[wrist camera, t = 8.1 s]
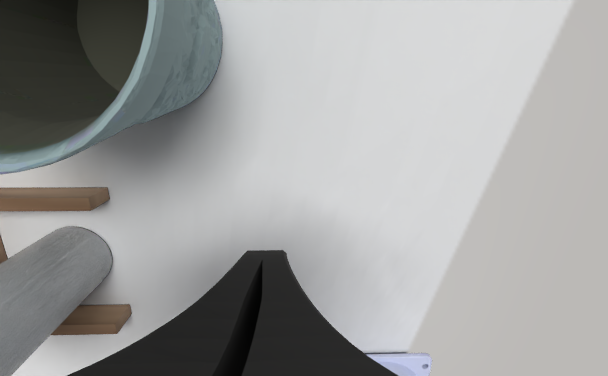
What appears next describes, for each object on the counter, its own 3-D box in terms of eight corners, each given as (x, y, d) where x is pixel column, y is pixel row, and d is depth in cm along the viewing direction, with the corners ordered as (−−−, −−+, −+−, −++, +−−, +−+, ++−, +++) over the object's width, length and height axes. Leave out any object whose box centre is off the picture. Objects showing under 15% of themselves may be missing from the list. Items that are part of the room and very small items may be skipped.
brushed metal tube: (38, 223, 21) (-184, 345, 11) (109, 227, 21) (-45, 349, 11) (49, 282, 22) (-140, 437, 12) (116, 285, 22) (-17, 438, 13)
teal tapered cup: (14, -14, 17) (-579, -230, 5) (175, -118, 16) (-139, -672, 4) (131, 152, 20) (-89, 243, 8) (273, 74, 19) (245, 54, 7)
